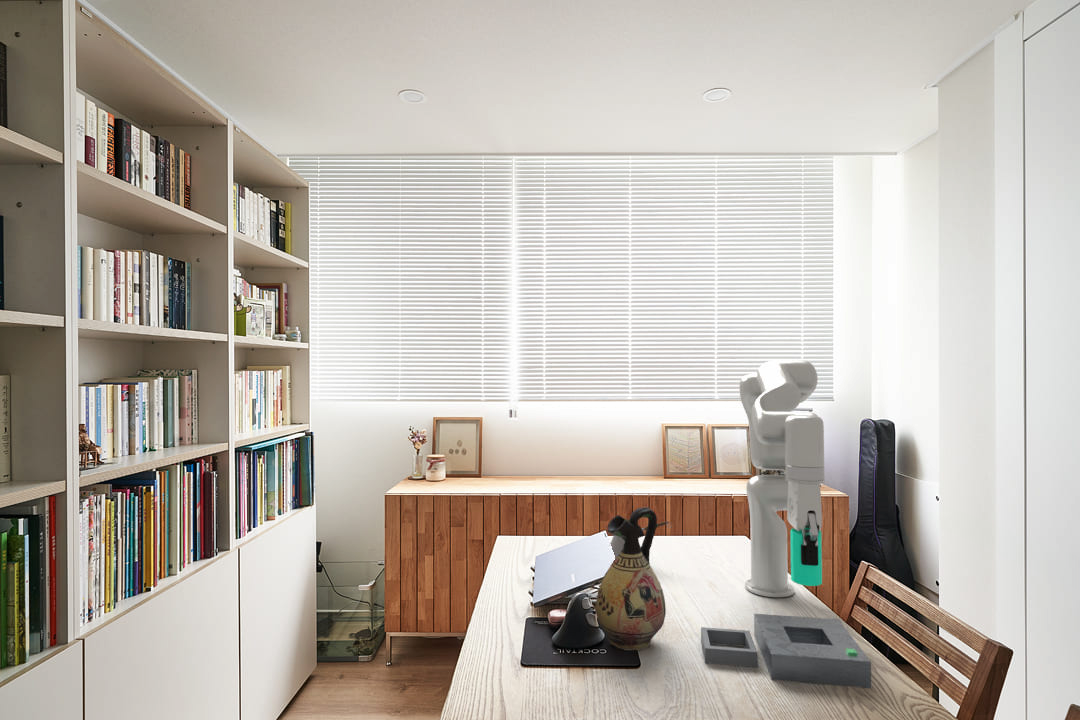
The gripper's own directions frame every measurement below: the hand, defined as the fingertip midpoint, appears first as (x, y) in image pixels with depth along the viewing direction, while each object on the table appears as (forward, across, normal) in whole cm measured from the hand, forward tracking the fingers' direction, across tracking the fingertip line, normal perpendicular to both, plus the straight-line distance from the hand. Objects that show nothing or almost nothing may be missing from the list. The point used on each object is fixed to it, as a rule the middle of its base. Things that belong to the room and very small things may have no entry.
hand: (805, 559), depth 125 cm
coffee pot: (+21, -57, -36) cm, 71 cm away
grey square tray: (+21, 0, -16) cm, 26 cm away
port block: (+21, 0, 0) cm, 21 cm away
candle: (+5, 0, 0) cm, 5 cm away
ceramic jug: (+21, -2, -36) cm, 42 cm away
